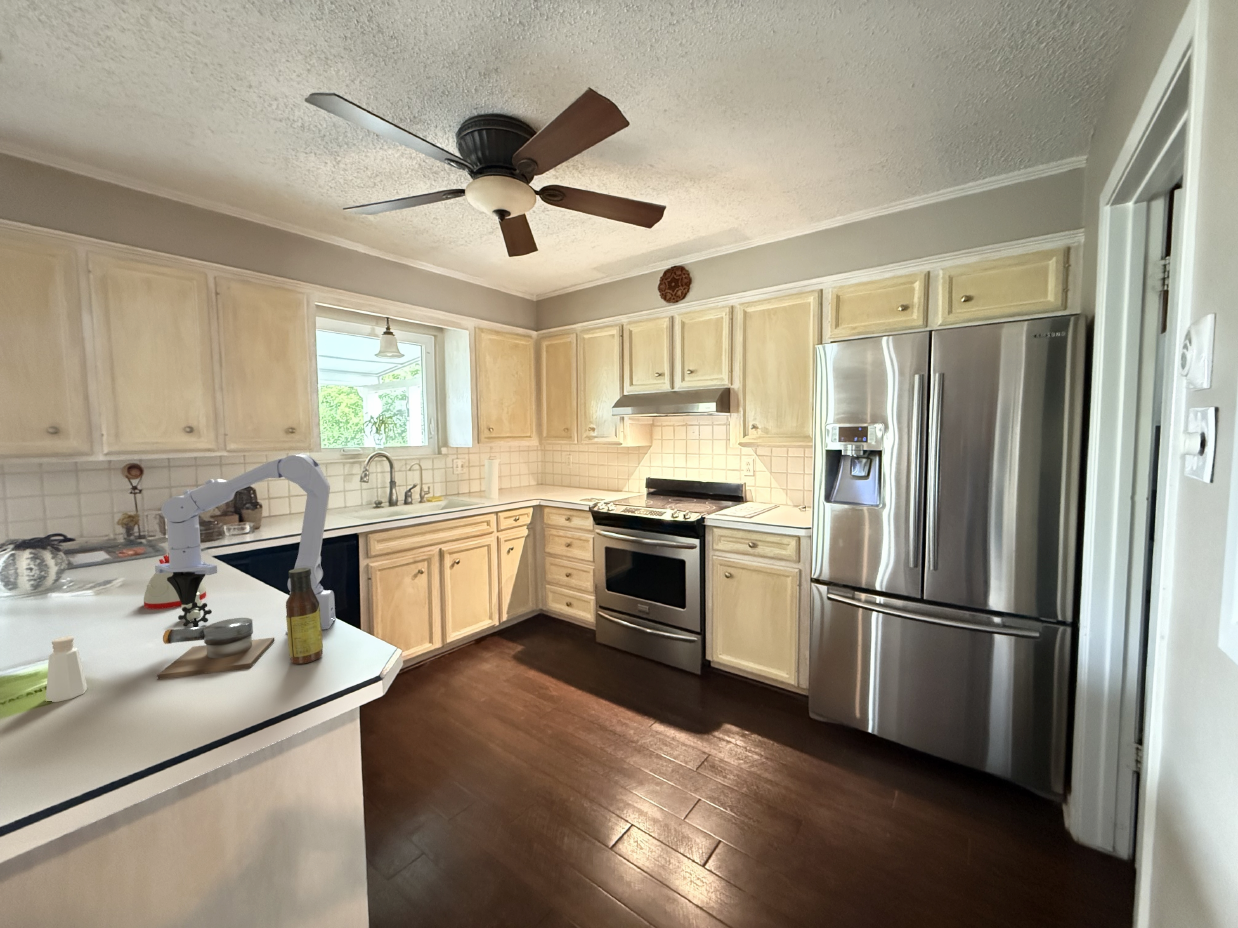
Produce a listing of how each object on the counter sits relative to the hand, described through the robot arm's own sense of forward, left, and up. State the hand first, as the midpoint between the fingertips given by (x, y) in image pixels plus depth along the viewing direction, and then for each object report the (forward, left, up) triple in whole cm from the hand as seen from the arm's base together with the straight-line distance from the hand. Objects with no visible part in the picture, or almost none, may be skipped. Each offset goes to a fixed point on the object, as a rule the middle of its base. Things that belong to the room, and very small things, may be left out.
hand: (188, 603), depth 118 cm
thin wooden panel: (-11, +13, -9) cm, 19 cm away
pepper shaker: (+10, +22, -10) cm, 26 cm away
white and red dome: (+20, -38, -10) cm, 44 cm away
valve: (+6, -16, -10) cm, 20 cm away
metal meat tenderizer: (-8, +11, -6) cm, 15 cm away
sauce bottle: (-29, +19, -10) cm, 36 cm away
